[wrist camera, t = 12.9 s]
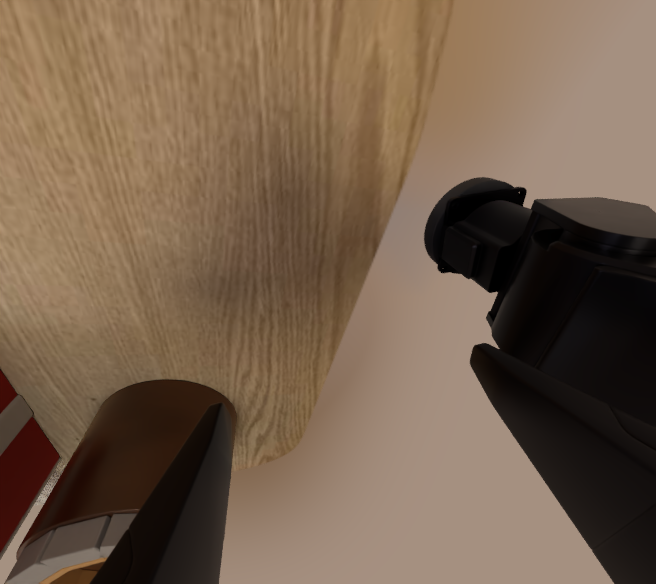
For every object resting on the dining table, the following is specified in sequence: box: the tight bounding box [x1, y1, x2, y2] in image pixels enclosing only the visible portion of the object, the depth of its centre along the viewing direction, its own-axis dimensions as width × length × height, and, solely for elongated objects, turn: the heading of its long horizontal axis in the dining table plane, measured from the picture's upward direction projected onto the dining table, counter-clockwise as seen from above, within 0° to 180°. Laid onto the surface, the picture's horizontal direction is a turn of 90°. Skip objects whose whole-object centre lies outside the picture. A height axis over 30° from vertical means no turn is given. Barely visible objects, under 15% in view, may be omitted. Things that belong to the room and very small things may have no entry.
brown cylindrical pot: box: [17, 380, 237, 571], centre depth 22 cm, size 12×12×10 cm
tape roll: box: [4, 513, 137, 584], centre depth 18 cm, size 11×11×2 cm
